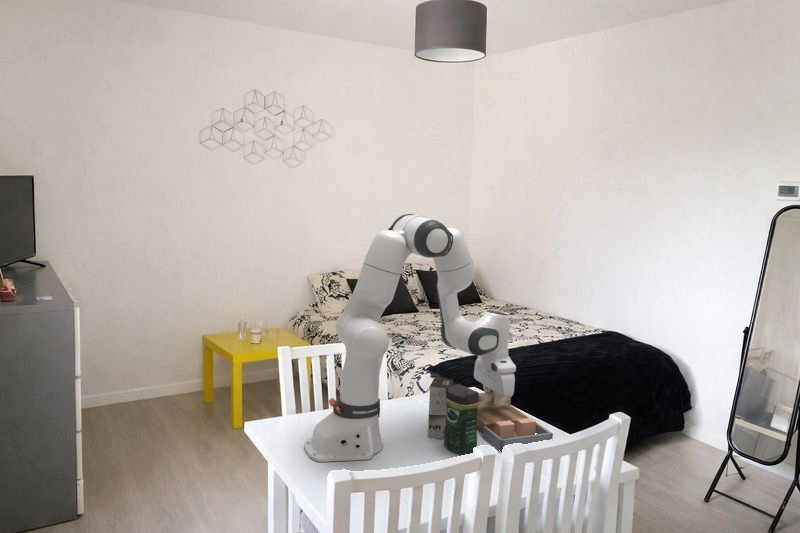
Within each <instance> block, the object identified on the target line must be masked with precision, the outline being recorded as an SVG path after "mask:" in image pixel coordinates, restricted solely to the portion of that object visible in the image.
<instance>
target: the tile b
mask: <svg viewBox="0 0 800 533" xmlns="http://www.w3.org/2000/svg"><path fill="white" fill-rule="evenodd" d="M536 423H537V420H535V419H533V418H532V417H529V418H526V419H518V420H517V423H516V436H518V437H522V436H529V435H535V431H536Z"/></svg>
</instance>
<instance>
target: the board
mask: <svg viewBox="0 0 800 533" xmlns="http://www.w3.org/2000/svg"><path fill="white" fill-rule="evenodd" d="M526 418H530V417H529V416H528V415H526V414H525V413H523V412H522V411H520V410H518V409H517V408H515V407H514V406H512V404H510V405H501V406H491V407H481V408H477V431H478V432H477V433H480V434H481V435H482V436H483V429H484V426H486V427H488V428H489V429H490V430H491V431H493V432H494V433H495V422H500V421H508V420H510V421H511V422H513V423H514V424H515V432H516V423H517V420H518V419H526Z"/></svg>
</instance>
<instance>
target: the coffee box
mask: <svg viewBox="0 0 800 533" xmlns="http://www.w3.org/2000/svg"><path fill="white" fill-rule="evenodd" d="M451 385H454V379H452V378H439V377H433V380H432V381H431V384H430V387H429V401H428V402H429V403H428V423H427V437H428V438H435V439H442V440H444V435H445V427H446V416H447V403H446V393H447V389H448V387H449V386H451Z"/></svg>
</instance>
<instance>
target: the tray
mask: <svg viewBox="0 0 800 533" xmlns="http://www.w3.org/2000/svg"><path fill="white" fill-rule="evenodd" d="M535 433H537V434H536V435H529V436H522V437H518V436H516V432H514V438H507V439H502V438H500V437H499V436H498V435H496V434H495V433H494V432H493V431H491V430H490V429H489V428H488V427H486V426H484V429H483V435H482V438H483V439H484V438H485V439H486V441H487V442H488V443H489V444H490V443H491V444H492V445H491V444H490V445H491V446H493V447H494V446H495V447H494V448H495V449H496V450H498V451H499V450H500V451H501V452H500V451H499V452H500V453H503V452H502V449H503V447H504V446H505V445H508V444H513V443H522V444H528V443H532V442H538V441H543V440H550V439H552V440H553V436H554V434H553V432H552V431H550V430H548V429H547V428H546V427H544V426H542V425H541V424H540V423H538V422H536V431H535ZM485 439H484V440H485Z"/></svg>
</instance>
